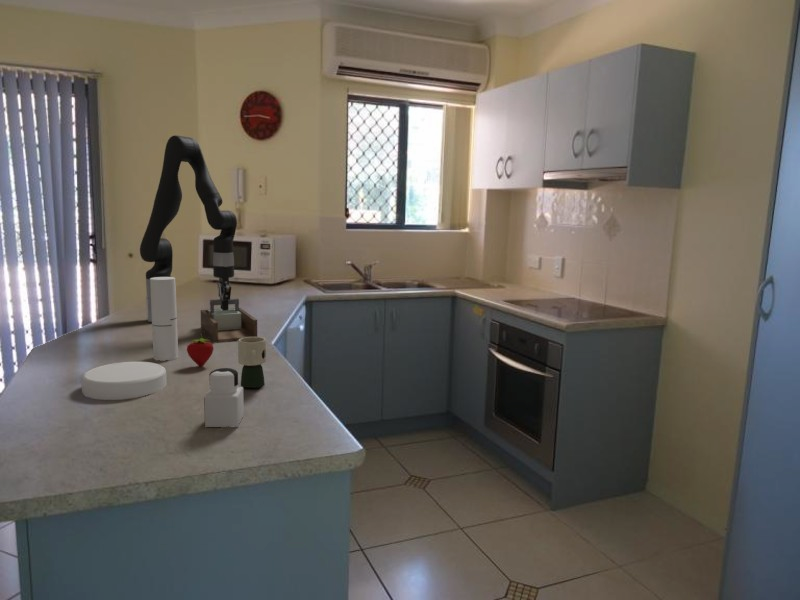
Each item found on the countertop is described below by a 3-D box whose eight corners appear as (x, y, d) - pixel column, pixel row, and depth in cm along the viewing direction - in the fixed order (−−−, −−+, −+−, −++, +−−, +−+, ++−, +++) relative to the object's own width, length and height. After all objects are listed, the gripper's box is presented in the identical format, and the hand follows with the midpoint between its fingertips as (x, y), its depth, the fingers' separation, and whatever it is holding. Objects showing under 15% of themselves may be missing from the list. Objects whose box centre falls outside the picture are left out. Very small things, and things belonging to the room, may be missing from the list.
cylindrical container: (183, 356, 180) (180, 278, 176) (165, 361, 173) (162, 280, 169) (166, 353, 183) (163, 276, 179) (148, 358, 176) (144, 278, 172)
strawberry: (187, 364, 171) (186, 332, 170) (213, 362, 174) (212, 330, 172) (187, 370, 166) (186, 336, 164) (214, 368, 168) (213, 335, 167)
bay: (214, 342, 199) (214, 323, 197) (201, 327, 221) (200, 310, 220) (257, 338, 206) (257, 319, 205) (240, 324, 228) (239, 307, 227)
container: (108, 375, 160) (107, 359, 159) (179, 378, 159) (178, 362, 158) (64, 399, 140) (63, 381, 139) (145, 402, 139) (144, 384, 139)
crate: (213, 330, 211) (212, 302, 209) (208, 325, 220) (207, 298, 218) (241, 328, 216) (241, 300, 214) (235, 323, 225) (235, 296, 223)
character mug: (268, 392, 149) (267, 343, 147) (239, 394, 146) (239, 345, 144) (264, 379, 159) (264, 334, 157) (238, 381, 157) (237, 335, 155)
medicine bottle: (212, 416, 131) (211, 365, 129) (244, 416, 132) (243, 365, 130) (204, 428, 124) (203, 375, 122) (237, 427, 125) (236, 375, 123)
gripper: (209, 262, 218) (210, 307, 221) (217, 266, 206) (218, 313, 209) (229, 262, 222) (230, 306, 224) (238, 266, 210) (238, 312, 213)
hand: (224, 309), depth 217 cm, fingers closed on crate, 2 cm apart
